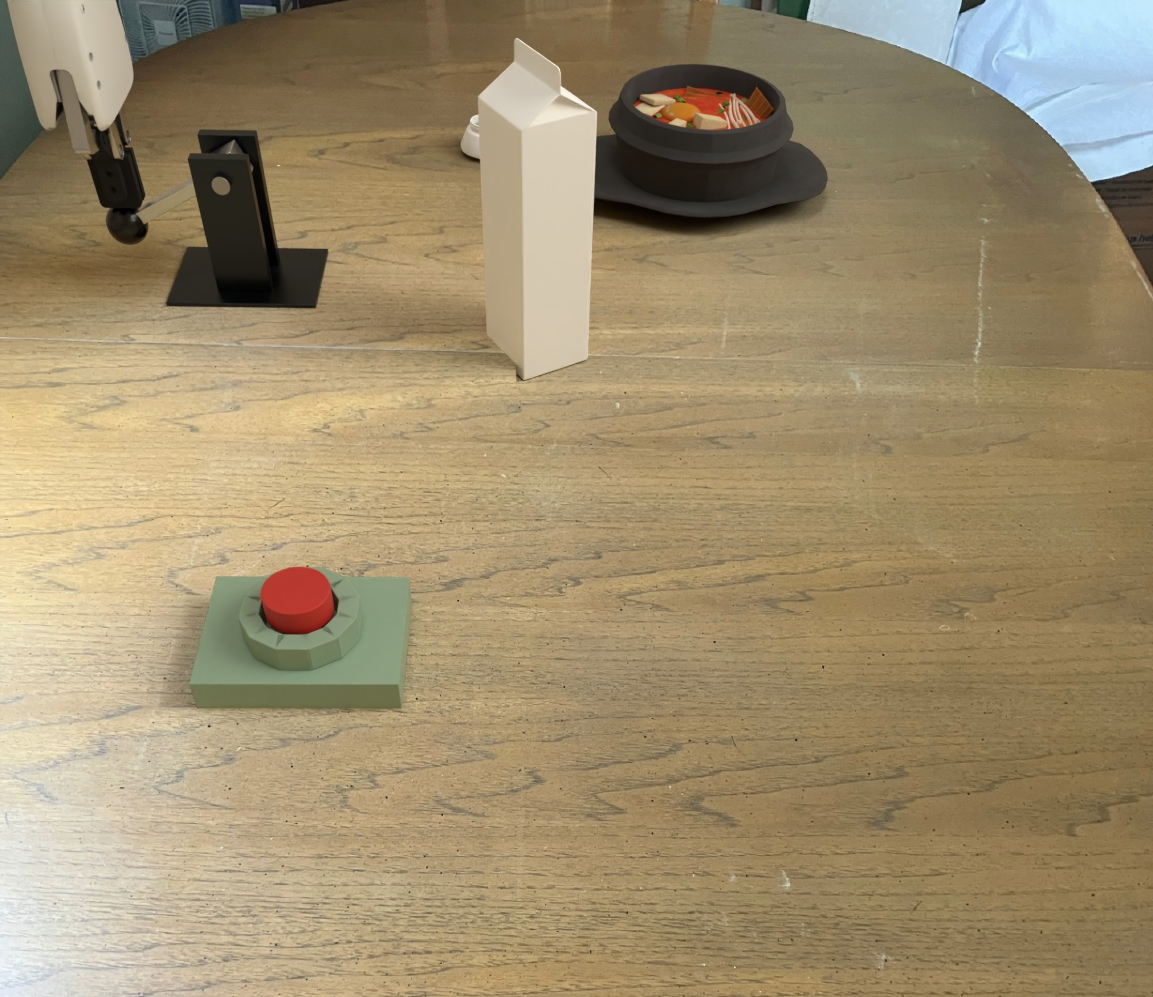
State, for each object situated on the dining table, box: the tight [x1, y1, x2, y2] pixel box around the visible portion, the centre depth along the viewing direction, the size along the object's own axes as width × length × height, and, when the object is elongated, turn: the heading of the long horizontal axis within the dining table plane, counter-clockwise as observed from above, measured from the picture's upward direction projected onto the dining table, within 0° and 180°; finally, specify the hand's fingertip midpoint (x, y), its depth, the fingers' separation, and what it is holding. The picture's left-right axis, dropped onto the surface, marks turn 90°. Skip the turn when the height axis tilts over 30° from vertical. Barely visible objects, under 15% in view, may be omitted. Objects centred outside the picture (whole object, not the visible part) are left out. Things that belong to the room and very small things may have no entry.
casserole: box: [594, 63, 829, 219], centre depth 107 cm, size 25×19×8 cm
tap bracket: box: [165, 128, 329, 309], centre depth 92 cm, size 12×9×12 cm
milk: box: [477, 37, 598, 381], centre depth 83 cm, size 6×6×22 cm
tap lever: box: [105, 140, 253, 246], centre depth 91 cm, size 13×3×3 cm, turn 91°
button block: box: [188, 566, 413, 709], centre depth 69 cm, size 12×9×4 cm
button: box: [260, 566, 334, 635], centre depth 67 cm, size 4×4×2 cm
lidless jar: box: [460, 114, 480, 160], centre depth 113 cm, size 5×3×5 cm
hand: (124, 202), depth 91 cm, fingers closed
